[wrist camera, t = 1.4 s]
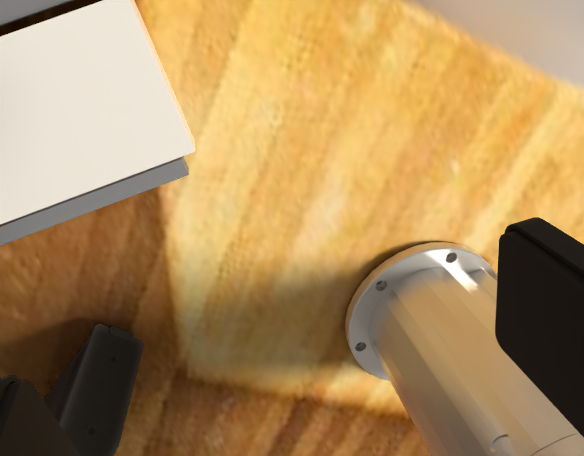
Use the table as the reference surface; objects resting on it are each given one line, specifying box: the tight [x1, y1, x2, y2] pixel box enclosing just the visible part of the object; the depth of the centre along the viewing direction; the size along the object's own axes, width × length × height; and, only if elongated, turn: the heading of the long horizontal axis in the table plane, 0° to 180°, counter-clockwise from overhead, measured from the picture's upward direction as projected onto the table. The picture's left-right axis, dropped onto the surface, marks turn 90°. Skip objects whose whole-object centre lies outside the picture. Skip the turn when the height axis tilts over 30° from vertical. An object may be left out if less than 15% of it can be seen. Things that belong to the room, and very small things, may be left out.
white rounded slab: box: [0, 0, 195, 224], centre depth 24 cm, size 11×8×2 cm
